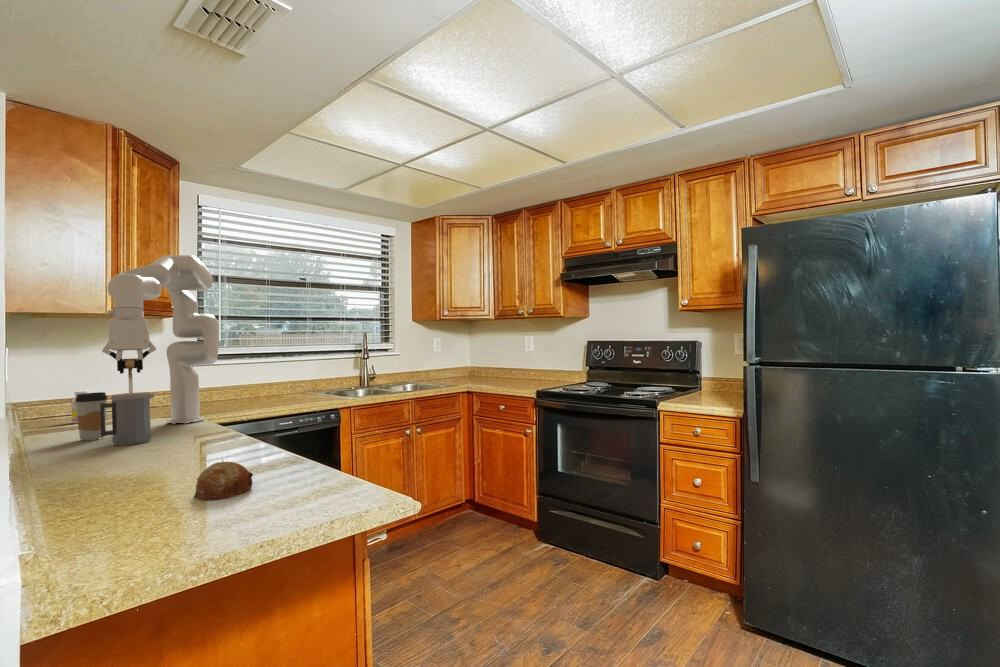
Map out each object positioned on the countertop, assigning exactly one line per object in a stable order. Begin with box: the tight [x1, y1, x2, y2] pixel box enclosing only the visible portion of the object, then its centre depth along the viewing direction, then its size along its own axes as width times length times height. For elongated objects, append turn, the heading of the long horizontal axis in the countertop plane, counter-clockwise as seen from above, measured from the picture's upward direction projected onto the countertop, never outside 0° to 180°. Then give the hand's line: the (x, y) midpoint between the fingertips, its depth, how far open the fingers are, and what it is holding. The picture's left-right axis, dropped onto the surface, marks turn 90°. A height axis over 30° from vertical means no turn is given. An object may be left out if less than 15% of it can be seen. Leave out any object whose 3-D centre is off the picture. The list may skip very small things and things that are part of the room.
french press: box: [100, 391, 155, 446], centre depth 157 cm, size 9×13×15 cm
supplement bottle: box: [71, 389, 90, 424], centre depth 208 cm, size 7×7×13 cm
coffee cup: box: [74, 392, 108, 441], centre depth 167 cm, size 8×8×15 cm
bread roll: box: [193, 461, 254, 501], centre depth 101 cm, size 10×10×8 cm
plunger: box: [122, 357, 138, 394], centre depth 158 cm, size 6×6×19 cm
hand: (130, 372), depth 158 cm, fingers closed on plunger, 3 cm apart
